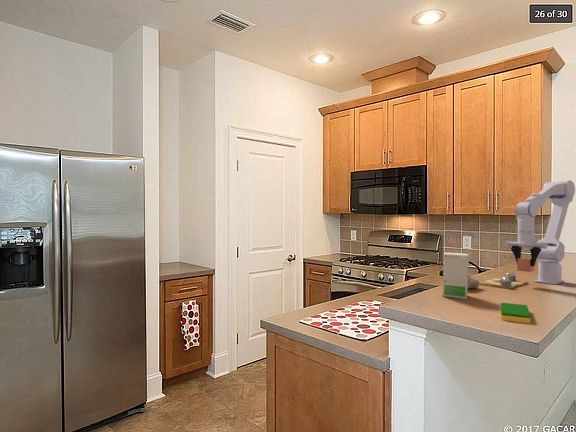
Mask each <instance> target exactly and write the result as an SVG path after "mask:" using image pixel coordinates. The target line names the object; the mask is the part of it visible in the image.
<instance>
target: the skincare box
mask: <svg viewBox="0 0 576 432" xmlns="http://www.w3.org/2000/svg"><path fill="white" fill-rule="evenodd" d="M442 264H443V266H442V267H443V269H442V297H445V298H454V299H464V300H467V298H468V289H469V288H468V275H469V253H461V252H448V251H447V252H444V253H443V263H442Z"/></svg>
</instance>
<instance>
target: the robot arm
mask: <svg viewBox="0 0 576 432" xmlns="http://www.w3.org/2000/svg"><path fill="white" fill-rule="evenodd" d="M575 192H576V186H575V183H574V182H573V180H562V181H558V180H556V181H546V182H545V183H544V184H543V188H542V189H541V190H540V191H539V192H538V193H537V192H533V193H532V194H531V195H530V196H528V198H526V199H525V200H524V201H523V202H521V201H519V202H518V203H517V204H516V205H515V207H514V211H513V212H514V214H515V219H516V220H517V241H505V247H510V250H511V252H512V254H513V255H514V258H515V261H516V265H517V266H518V258H521V257H522V250H523V249H522V248H529V249H530V250H529V251H530V258H531V266H534V267H535V266H536V261H538V266H537V267H538V269H537V270H538V272H537V273H538V276H537V277H538V279H535V280H534V281H533V282H536V283H543V284H548V285H549V284H550V285H558V284H561V283H563V282H565V280H562V278H563V277H562V275H563V274H562V273H563V272H562V270H563V268H562V265H561V262H562V261H563V260H564V258H565V248H566V246H565V244H564V243H563V242H562V241H560V238H561V234H562V232H563V231H562V230H563V228H564V227H563V226H564V223H565V220H566V217H567V213H568V209H569V205H570V203H572V202H573V201H574V200H573V199H574V196H575ZM546 200H548V202H549V203H551V204H553V207H552V211H551V214H550V216H549V221H548V224H547V227H546V233H545V236H544V237H543V238H541V239H539V240H537V242H535V217H536V216H537V215H538V212H539V210H540V209H541V207H542V206H544V205H545V204H546V202H547V201H546Z"/></svg>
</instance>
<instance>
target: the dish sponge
mask: <svg viewBox="0 0 576 432" xmlns="http://www.w3.org/2000/svg"><path fill="white" fill-rule="evenodd" d="M500 319H501V321H509V322H517V323H524V324H525V323H527V324H531V313H530V311H529V307H528V305H527V304H519V303H509V302H500Z"/></svg>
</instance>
